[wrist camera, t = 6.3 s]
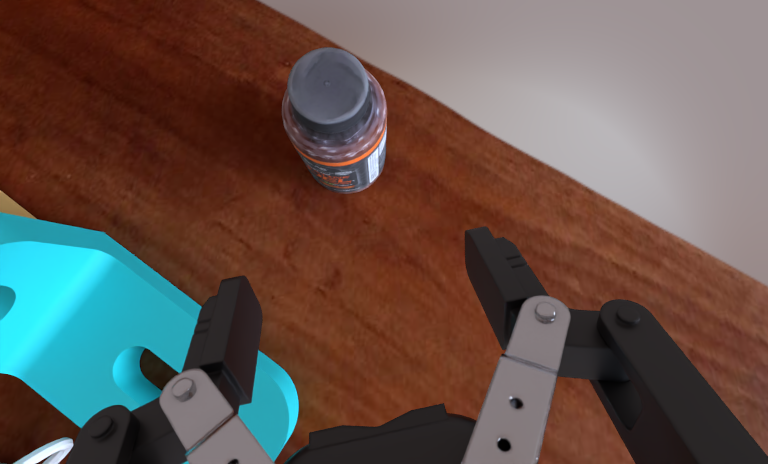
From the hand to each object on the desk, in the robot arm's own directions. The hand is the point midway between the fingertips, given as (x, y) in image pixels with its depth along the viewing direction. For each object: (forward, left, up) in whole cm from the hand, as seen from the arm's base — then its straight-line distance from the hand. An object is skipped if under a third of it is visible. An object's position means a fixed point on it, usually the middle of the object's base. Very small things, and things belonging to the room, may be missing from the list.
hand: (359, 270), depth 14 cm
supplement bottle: (+2, -9, -15) cm, 18 cm away
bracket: (+15, +6, -15) cm, 22 cm away
